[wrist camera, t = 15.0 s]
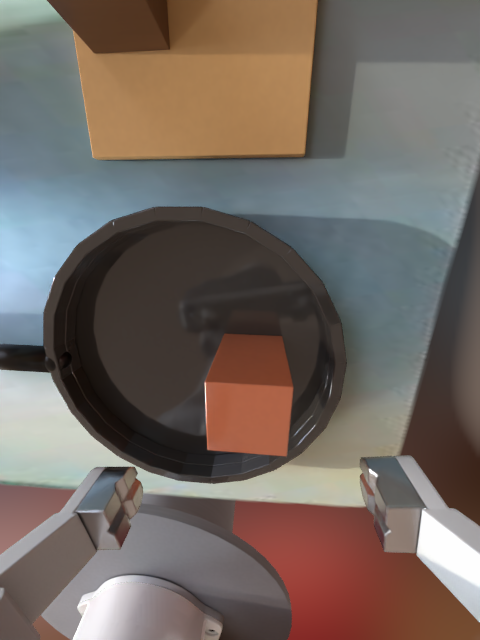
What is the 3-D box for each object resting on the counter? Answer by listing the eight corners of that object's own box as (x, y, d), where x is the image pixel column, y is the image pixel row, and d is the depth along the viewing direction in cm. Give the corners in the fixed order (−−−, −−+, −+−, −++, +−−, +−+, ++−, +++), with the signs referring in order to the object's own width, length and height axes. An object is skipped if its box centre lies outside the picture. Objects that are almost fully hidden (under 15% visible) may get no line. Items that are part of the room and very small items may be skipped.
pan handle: (80, 365, 18) (60, 378, 16) (-39, 358, 18) (-70, 370, 17) (75, 343, 17) (54, 354, 15) (-48, 337, 18) (-80, 347, 16)
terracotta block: (278, 386, 17) (287, 457, 12) (224, 383, 18) (206, 450, 12) (282, 335, 16) (294, 387, 10) (223, 333, 16) (204, 381, 11)
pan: (316, 464, 20) (324, 494, 18) (97, 446, 21) (77, 471, 19) (354, 212, 14) (374, 206, 11) (44, 211, 15) (4, 206, 13)
